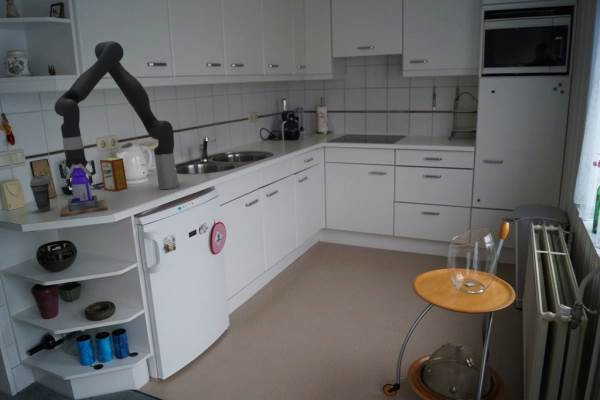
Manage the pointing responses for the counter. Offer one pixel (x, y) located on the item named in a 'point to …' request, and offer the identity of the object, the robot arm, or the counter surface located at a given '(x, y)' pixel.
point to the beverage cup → (41, 192)
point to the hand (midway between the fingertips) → (80, 186)
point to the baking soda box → (113, 174)
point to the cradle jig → (83, 207)
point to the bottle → (80, 186)
